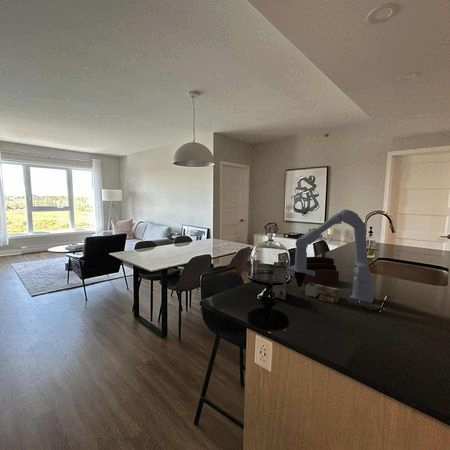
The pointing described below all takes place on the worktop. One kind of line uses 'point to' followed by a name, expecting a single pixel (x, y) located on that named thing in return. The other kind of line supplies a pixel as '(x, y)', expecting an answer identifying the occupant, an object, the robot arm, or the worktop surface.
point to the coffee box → (280, 279)
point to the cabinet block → (312, 289)
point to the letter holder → (321, 271)
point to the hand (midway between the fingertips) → (299, 286)
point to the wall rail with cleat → (330, 292)
